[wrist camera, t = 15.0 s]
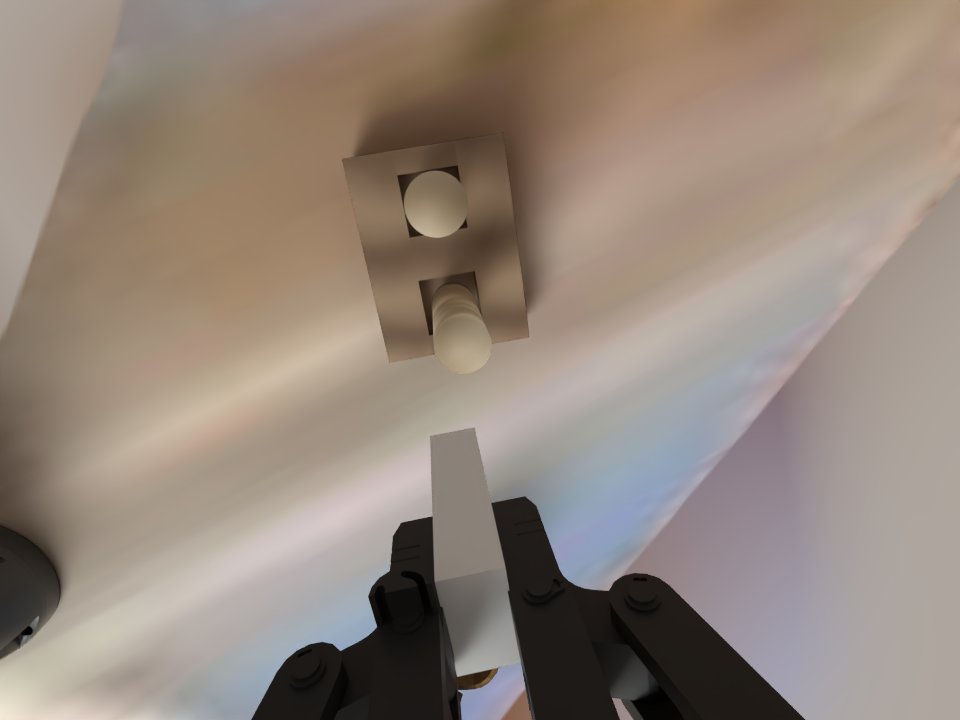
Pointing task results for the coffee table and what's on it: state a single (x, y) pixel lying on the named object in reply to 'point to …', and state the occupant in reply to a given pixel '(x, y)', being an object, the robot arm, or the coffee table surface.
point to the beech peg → (459, 330)
